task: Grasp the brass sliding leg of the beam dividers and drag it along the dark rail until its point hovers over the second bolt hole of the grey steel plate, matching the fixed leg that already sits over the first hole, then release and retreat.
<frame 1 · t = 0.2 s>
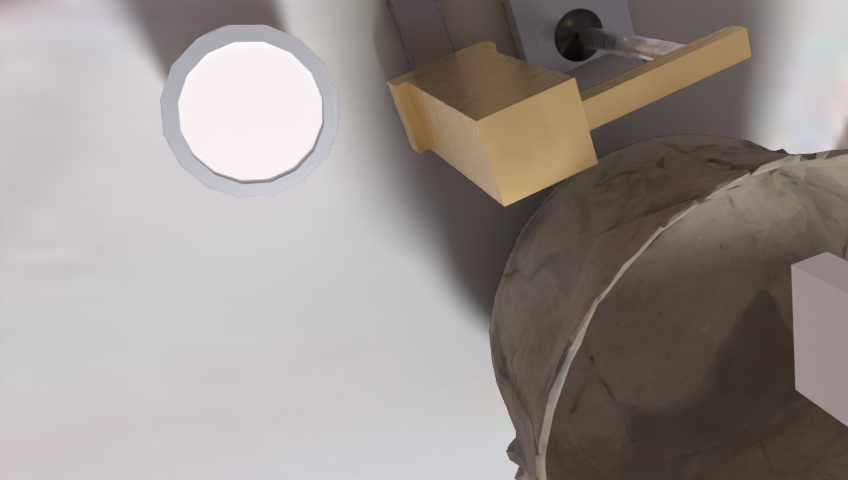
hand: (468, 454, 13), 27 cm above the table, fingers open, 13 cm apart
bowl: (605, 268, 46), on the table
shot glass: (239, 85, 37), on the table
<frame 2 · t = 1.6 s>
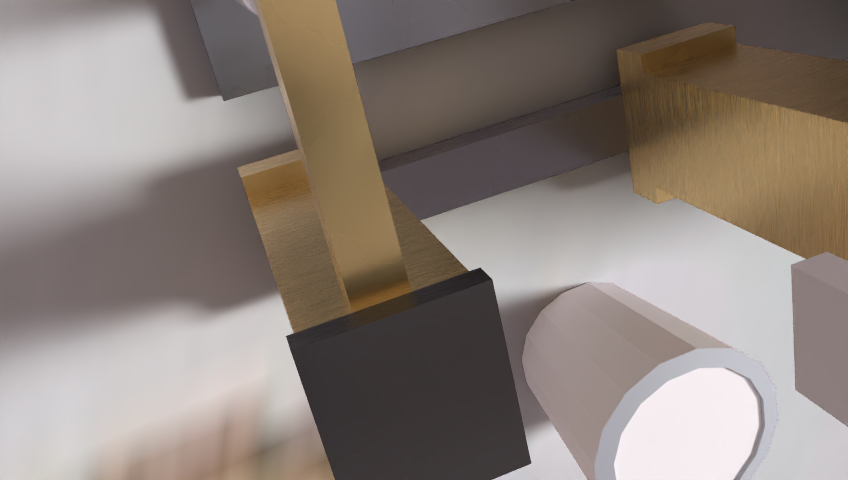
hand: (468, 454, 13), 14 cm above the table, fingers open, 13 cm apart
rail: (500, 151, 27), on the table
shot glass: (583, 344, 31), on the table
sliding leg: (318, 169, 18), point 7 cm above the table, slide at 0.0 cm
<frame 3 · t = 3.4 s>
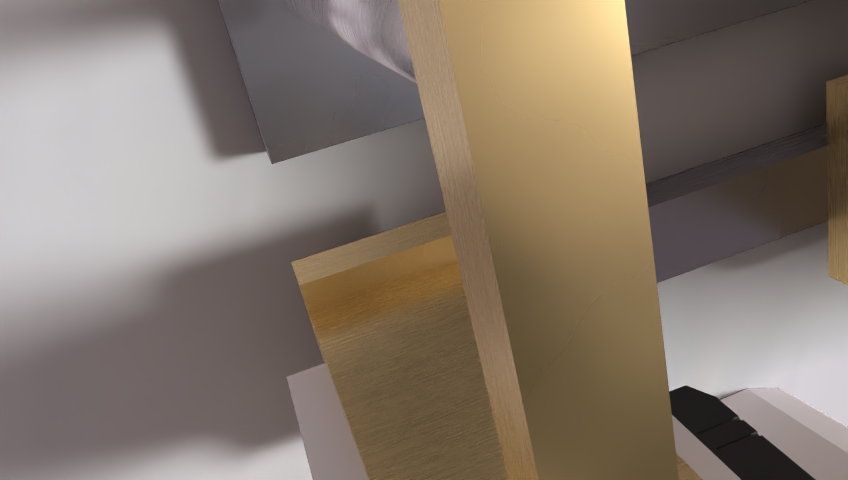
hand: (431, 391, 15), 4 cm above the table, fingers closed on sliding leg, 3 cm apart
rail: (649, 221, 20), on the table
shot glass: (733, 465, 24), on the table
sliding leg: (452, 313, 11), point 7 cm above the table, slide at 0.0 cm, touching gripper
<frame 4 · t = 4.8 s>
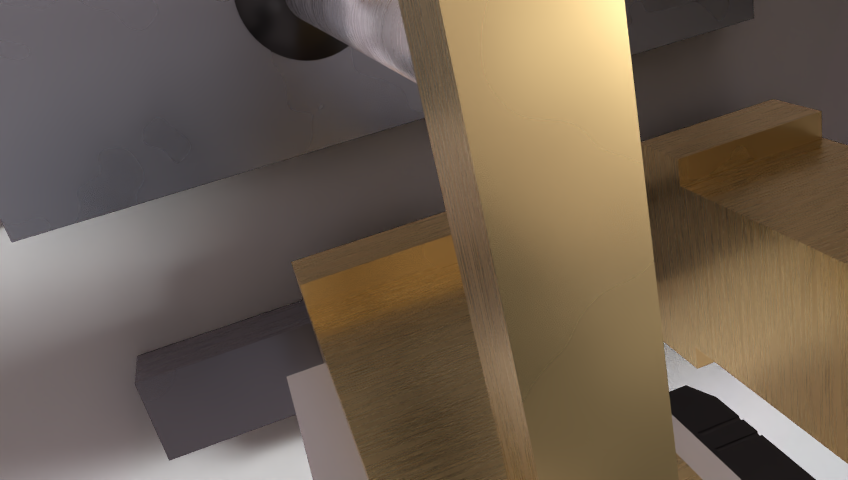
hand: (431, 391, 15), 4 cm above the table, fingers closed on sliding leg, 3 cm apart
rail: (466, 285, 19), on the table
sliding leg: (451, 313, 11), point 7 cm above the table, slide at 5.0 cm, touching gripper
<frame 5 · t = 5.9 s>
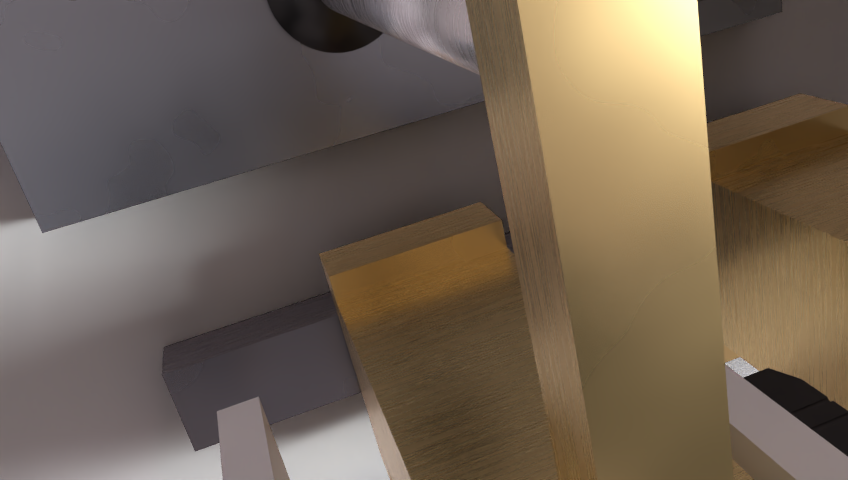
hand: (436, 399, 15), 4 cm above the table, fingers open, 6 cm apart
rail: (490, 278, 19), on the table
sliding leg: (488, 304, 11), point 7 cm above the table, slide at 5.0 cm
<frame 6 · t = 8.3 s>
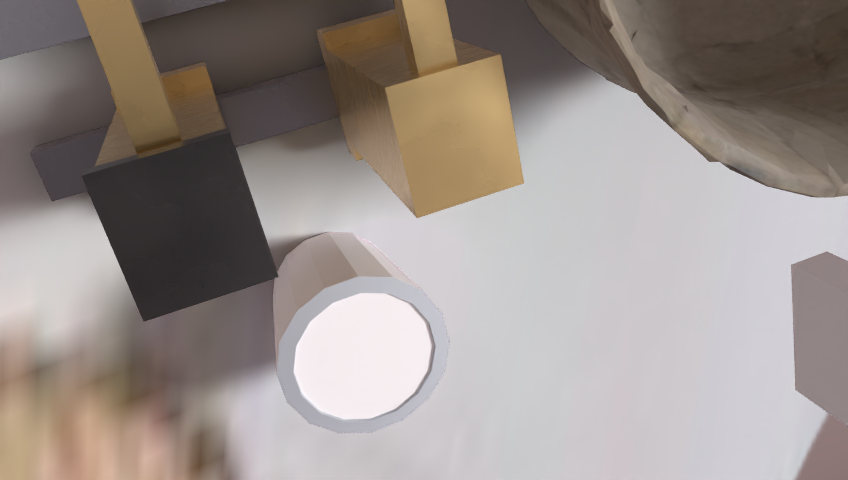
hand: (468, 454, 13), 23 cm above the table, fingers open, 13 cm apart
rail: (230, 116, 32), on the table
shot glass: (332, 286, 37), on the table
sliding leg: (146, 72, 24), point 7 cm above the table, slide at 5.0 cm
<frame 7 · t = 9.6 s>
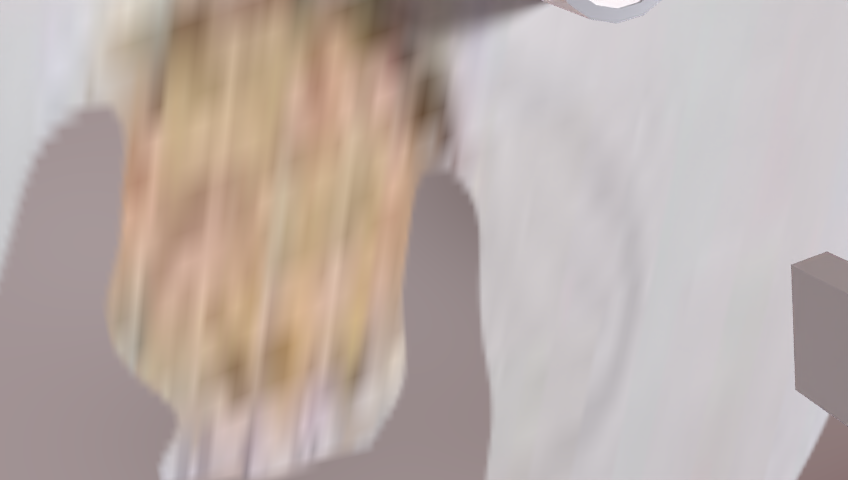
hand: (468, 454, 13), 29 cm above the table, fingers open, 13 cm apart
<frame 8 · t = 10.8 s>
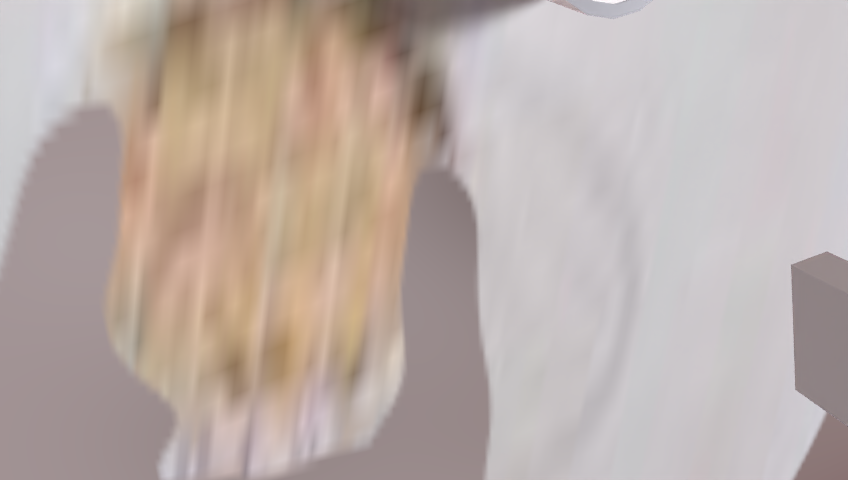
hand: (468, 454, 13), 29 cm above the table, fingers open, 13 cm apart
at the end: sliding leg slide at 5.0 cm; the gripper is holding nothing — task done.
